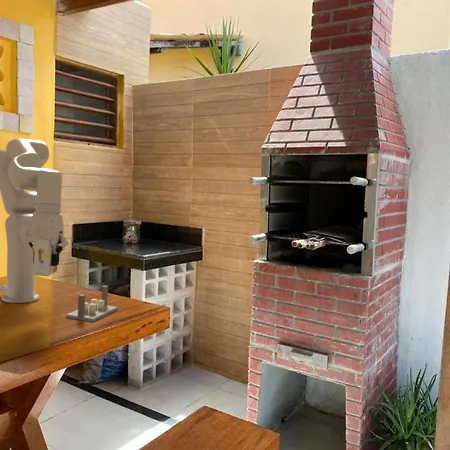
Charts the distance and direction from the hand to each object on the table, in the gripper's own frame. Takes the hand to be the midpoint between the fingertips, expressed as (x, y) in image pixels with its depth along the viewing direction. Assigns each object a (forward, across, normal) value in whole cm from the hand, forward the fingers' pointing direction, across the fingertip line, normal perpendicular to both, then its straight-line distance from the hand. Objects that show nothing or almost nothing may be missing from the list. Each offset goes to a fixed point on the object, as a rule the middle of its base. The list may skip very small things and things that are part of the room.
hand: (45, 263), depth 149 cm
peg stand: (+18, +12, +10) cm, 24 cm away
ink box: (+3, 0, 0) cm, 3 cm away
